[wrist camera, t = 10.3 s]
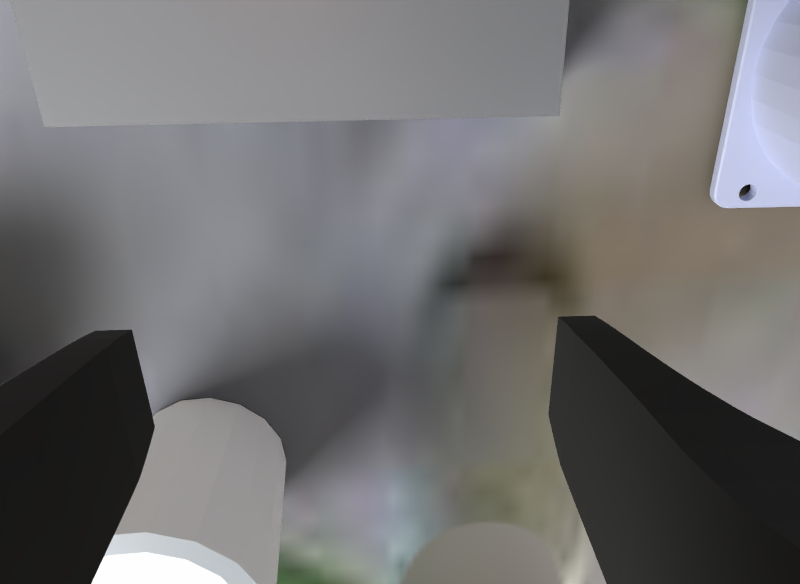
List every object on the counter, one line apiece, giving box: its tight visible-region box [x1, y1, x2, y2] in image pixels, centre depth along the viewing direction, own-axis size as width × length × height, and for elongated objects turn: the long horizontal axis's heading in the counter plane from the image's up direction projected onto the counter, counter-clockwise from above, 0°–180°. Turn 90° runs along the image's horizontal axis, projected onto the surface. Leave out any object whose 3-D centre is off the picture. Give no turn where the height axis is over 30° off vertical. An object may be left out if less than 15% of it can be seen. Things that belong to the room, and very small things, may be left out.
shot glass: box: [91, 398, 286, 584], centre depth 23 cm, size 7×7×7 cm
